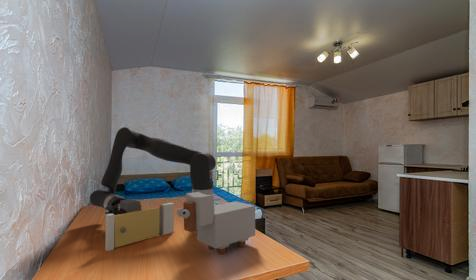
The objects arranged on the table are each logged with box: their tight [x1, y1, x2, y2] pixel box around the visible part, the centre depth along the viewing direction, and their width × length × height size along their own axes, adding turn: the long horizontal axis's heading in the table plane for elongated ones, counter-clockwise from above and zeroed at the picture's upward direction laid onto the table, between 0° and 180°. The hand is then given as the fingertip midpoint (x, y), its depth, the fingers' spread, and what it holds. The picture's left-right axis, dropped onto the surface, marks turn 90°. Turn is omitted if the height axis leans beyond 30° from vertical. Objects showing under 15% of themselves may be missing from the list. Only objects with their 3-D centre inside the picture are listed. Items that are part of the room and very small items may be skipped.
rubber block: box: [120, 198, 141, 213], centre depth 96 cm, size 5×7×10 cm
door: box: [114, 206, 160, 249], centre depth 91 cm, size 17×3×11 cm, turn 137°
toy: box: [176, 192, 256, 255], centre depth 83 cm, size 11×28×20 cm, turn 132°
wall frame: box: [104, 202, 175, 252], centre depth 93 cm, size 26×2×12 cm, turn 137°
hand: (132, 212), depth 95 cm, fingers closed on rubber block, 5 cm apart
